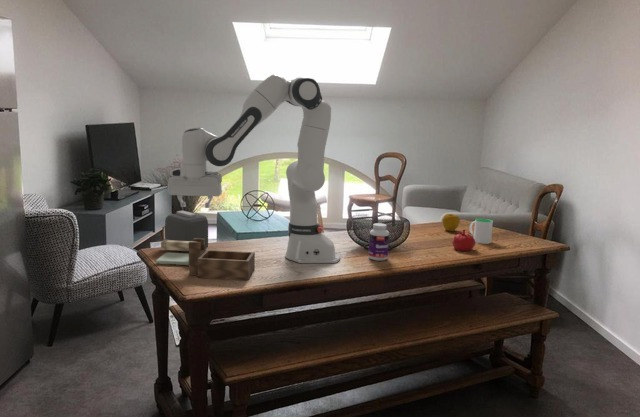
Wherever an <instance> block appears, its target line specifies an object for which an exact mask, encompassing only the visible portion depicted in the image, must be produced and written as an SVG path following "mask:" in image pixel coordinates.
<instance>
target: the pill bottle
mask: <svg viewBox="0 0 640 417" xmlns="http://www.w3.org/2000/svg"><path fill="white" fill-rule="evenodd" d="M387 228H388V225H387V224H385V223H380V222H378V223H377V222H376V223H373V224H372V229H371V230H370V231H369V235H368V237H369V238H368V239H369V240H368V254H367V255H368V256H367V257H368V258H369V260H373V261H377V262H378V261H380V262H382V261H386V260H387V259H388V258H389V245H390V244H389V243H390V232H389V230H387Z"/></svg>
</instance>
